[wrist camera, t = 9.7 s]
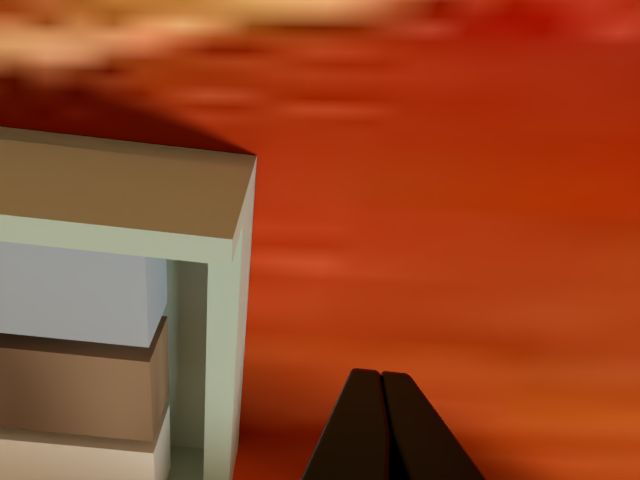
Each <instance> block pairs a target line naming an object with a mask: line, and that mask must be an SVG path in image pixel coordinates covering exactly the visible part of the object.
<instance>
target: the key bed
mask: <svg viewBox="0 0 640 480" xmlns="http://www.w3.org/2000/svg"><path fill="white" fill-rule="evenodd" d="M256 162H257V156H255V155H246V154H237V153H229V152H220V151H211V150H202V149H193V148H185V147H176V146H167V145H158V144H149V143H141V142H132V141H123V140H114V139H105V138H97V137H88V136H79V135H70V134H62V133H53V132H44V131H35V130H26V129H18V128H9V127H0V241H2V242H12V243H21V244H31V245H40V246H49V247H59V248H68V249H78V250H87V251H97V252H106V253H115V254H125V255H134V256H144V257H153V258H162V259H166V270H167V304H166V307H165V309H164V312H163V314H162V316H168V362H169V394H168V398H167V401H166V404H169V407H170V454H171V468H170V471H169V475H168V478H167V480H232V479H233V474H234V468H235V462H236V456H237V451H238V443H239V428H240V412H241V396H242V381H243V365H244V349H245V334H246V318H247V303H248V287H249V271H250V256H251V240H252V224H253V209H254V193H255V178H256Z"/></svg>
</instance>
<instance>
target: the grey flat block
mask: <svg viewBox="0 0 640 480" xmlns="http://www.w3.org/2000/svg"><path fill="white" fill-rule="evenodd" d="M166 304H167V270H166V259H162V258H153V257H144V256H134V255H125V254H115V253H106V252H97V251H87V250H78V249H68V248H59V247H49V246H40V245H31V244H21V243H12V242H2V241H0V333H7V334H17V335H27V336H37V337H47V338H57V339H67V340H77V341H87V342H97V343H107V344H117V345H127V346H137V347H147V348H149V346H150V344H151V341H152V339H153V336H154V334H155V331H156V329H157V326H158V324H159V322H160V319H161V317H162V314H163V312H164V309H165V307H166Z"/></svg>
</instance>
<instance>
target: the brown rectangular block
mask: <svg viewBox="0 0 640 480" xmlns="http://www.w3.org/2000/svg"><path fill="white" fill-rule="evenodd" d="M168 394H169V362H168V316H162V317H161V319H160V322H159V324H158V326H157V329H156V331H155V334H154V336H153V339H152V341H151V344H150V346H149V348H147V347H137V346H127V345H117V344H107V343H97V342H87V341H77V340H67V339H57V338H47V337H37V336H27V335H17V334H7V333H0V427H2V428H12V429H23V430H34V431H44V432H55V433H66V434H76V435H87V436H98V437H108V438H119V439H130V440H140V441H151V442H153V440H154V437H155V434H156V431H157V428H158V425H159V422H160V419H161V416H162V413H163V410H164V407H165V404H166V401H167V398H168Z"/></svg>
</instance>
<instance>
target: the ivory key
mask: <svg viewBox="0 0 640 480" xmlns="http://www.w3.org/2000/svg"><path fill="white" fill-rule="evenodd" d="M170 468H171V454H170V407H169V404H165V407H164V410H163V413H162V416H161V419H160V422H159V425H158V428H157V431H156V434H155V437H154V440H153V442H151V441H140V440H130V439H119V438H108V437H98V436H87V435H76V434H66V433H55V432H44V431H34V430H23V429H12V428H2V427H0V480H167V478H168V475H169V471H170Z"/></svg>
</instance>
